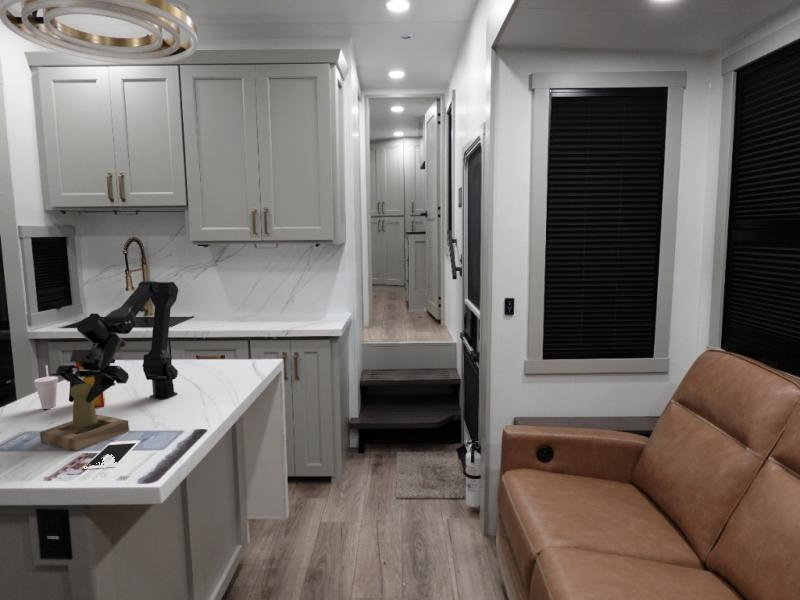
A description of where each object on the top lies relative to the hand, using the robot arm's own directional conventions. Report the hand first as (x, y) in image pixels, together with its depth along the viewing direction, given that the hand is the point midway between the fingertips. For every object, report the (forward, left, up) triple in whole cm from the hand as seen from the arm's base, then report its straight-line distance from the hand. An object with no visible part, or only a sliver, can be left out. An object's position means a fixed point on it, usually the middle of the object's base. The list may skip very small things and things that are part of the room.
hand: (79, 401), depth 139 cm
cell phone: (+18, -4, -11) cm, 21 cm away
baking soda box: (-25, +20, -11) cm, 34 cm away
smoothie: (-35, +12, -10) cm, 39 cm away
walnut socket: (0, +1, -10) cm, 10 cm away
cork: (0, +1, -7) cm, 7 cm away
